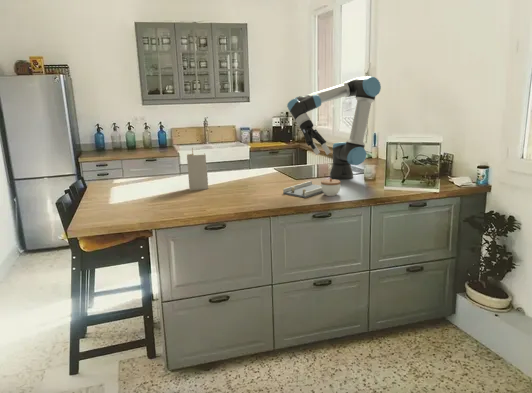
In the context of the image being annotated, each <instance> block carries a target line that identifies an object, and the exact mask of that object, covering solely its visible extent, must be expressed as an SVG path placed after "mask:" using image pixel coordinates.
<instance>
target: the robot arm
mask: <svg viewBox="0 0 532 393" xmlns="http://www.w3.org/2000/svg"><path fill="white" fill-rule="evenodd" d="M381 90H382V86H381V82H380V80H379V79H378V78H377V77H375V76H359V77H356V78H352V79H350V80H347V81H344V82H342V83H341V84H339V85H335V86H332V87H329V88H326V89H322V90H319V91H316V92H312V93H308V94H305V95H302V96H301V95H300V96H296V97H295V98H292V99H291V100H289V102H288V103H287V104H286V105H287V106H286V107H287V108H288V111H289V113H290V115H291V116H292V117H293V119H294V120H295V122H296V125H298V127H299V129H300V131H301V132H302V135H303V138H304V139H305V143H306V144H307V146H308V147H309V146H310V147H311V149H312V151H313V153H314V154H315V156H317V155H319V154H320V153H321V151H320V150H319V148H318V147H317V144H316V142H314V141H313V140H315V141H317V142H318V144H320V146H321V148H322V150H323V151H324V152H325V154H326V155H327V156H328V155H329V154H331V152H332V167H331V170H330V173H329V178H332V179H335V180H347V179H352V178H354V172H353V169H352V166H359V165H361V164H363V163H364V162H365V160H366V159H367V151H366V150H365V147H366V145H365V143H364V139H365V134H366V130H367V124H368V120H369V115H370V111H371V106H372V103H373V102H375V99H376V97H377V96H378V95H379V94H380V92H381ZM343 97H344V98H349V97H355V99H356V106H355V111H354V114H353V120H352V124H351V130H350V135H349V139H348V140H346V141H343V142H341V141H340V142H335V143H333V144H332V151H331V150H330V148H329V146H328V145H327V140H326V139H324V137H323V136H322V135H321V134H320V133H319V132H318V130H317V129H316V128H315V129H314V128H313V127H314V123H313V121H312V120H311V118H310V117H309V115H308V114H307V113H308V112H311V111H313V110H316V109H317V108H319V107H321V105H322V104H325V103H326V102H327V103H328V102H331V101H334V100H337V99H341V98H343Z"/></svg>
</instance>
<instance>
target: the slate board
mask: <svg viewBox="0 0 532 393" xmlns="http://www.w3.org/2000/svg"><path fill="white" fill-rule="evenodd" d="M282 191H283V195H288V196H293V197H298V198H304V199H306V198H309V197H312V196H315V195H319V194H322V193H323V191H322V187H321V185H320V184H319V185H318V184H314V183H313V181H312V180H309V181H306V182H302V183H298V184H295V185H292V186H288V187H284V188H283V189H282Z"/></svg>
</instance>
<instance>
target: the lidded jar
mask: <svg viewBox="0 0 532 393" xmlns="http://www.w3.org/2000/svg"><path fill="white" fill-rule="evenodd" d="M341 182H342V181H341V180H340V179H334V178H331V177H329V179H327V178H326V179H323V180H321V182H320V184H321V187H322V191H323V192H322V193H323V194H324V195H325V196H328V197H336V196H337V194H338V193H339V192H340V190H341Z"/></svg>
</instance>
